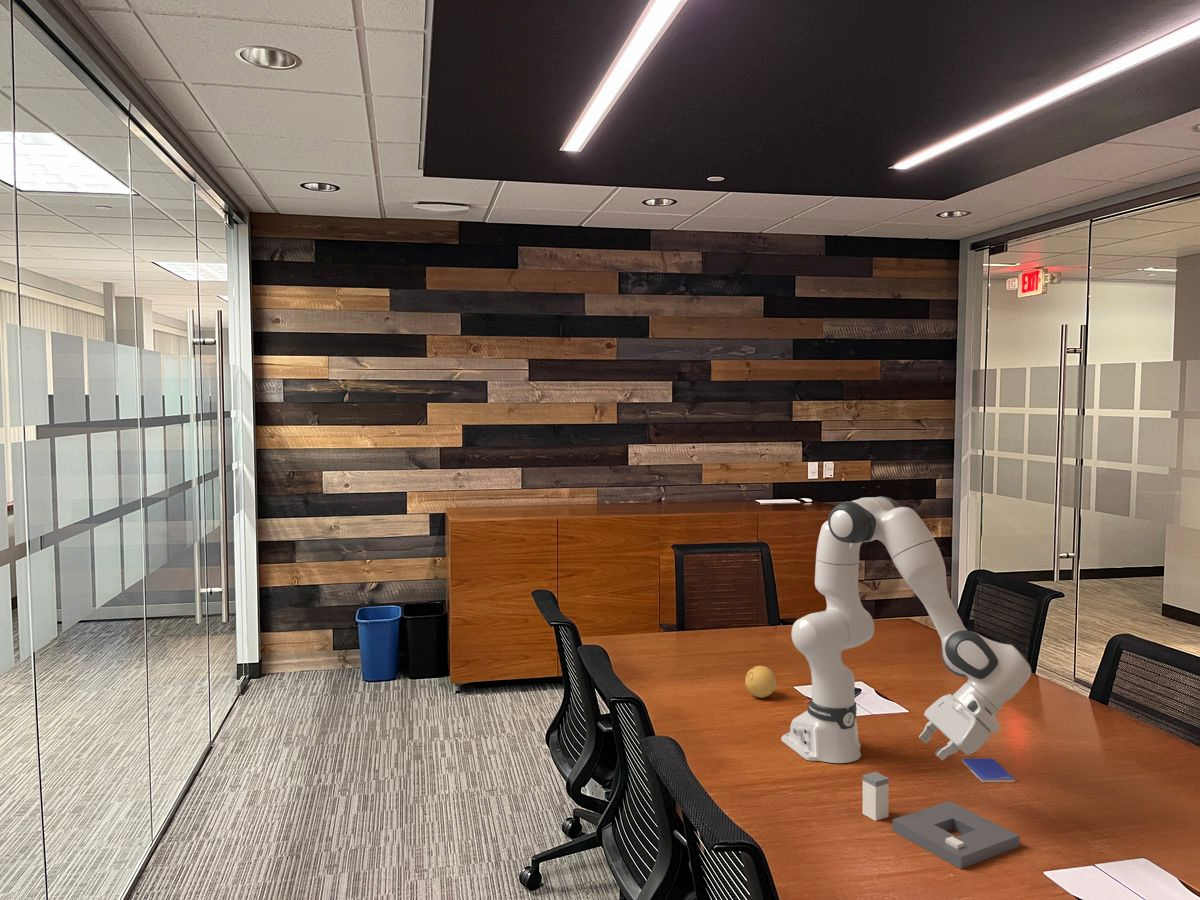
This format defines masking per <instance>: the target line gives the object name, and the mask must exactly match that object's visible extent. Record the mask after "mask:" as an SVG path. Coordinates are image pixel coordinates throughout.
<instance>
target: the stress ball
mask: <svg viewBox="0 0 1200 900" xmlns="http://www.w3.org/2000/svg"><path fill="white" fill-rule="evenodd" d="M744 681H745V682H744V684H745V687H746V689H747V691H748V692H749V693H750V694H751V695H753V696H754V697H756V698H758V699H765V698H766V697H769V696H771V694H773V693H774V691H775V689H776V688H777V677H776V675H775V673H774V672H773V670H771V669H770V668H768V667H767V666H763V665H757V666H753V667H751V668H750V669H749V670H748V671H747V672H746V675H745V679H744Z"/></svg>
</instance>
